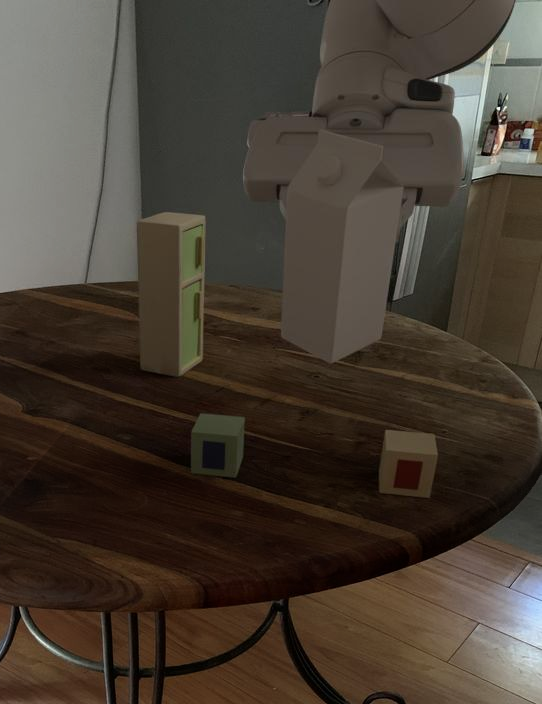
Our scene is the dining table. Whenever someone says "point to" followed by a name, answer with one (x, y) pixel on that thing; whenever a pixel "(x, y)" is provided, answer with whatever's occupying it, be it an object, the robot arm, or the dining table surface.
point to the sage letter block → (217, 445)
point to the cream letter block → (407, 463)
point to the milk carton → (339, 247)
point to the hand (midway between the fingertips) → (342, 236)
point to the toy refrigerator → (171, 291)
